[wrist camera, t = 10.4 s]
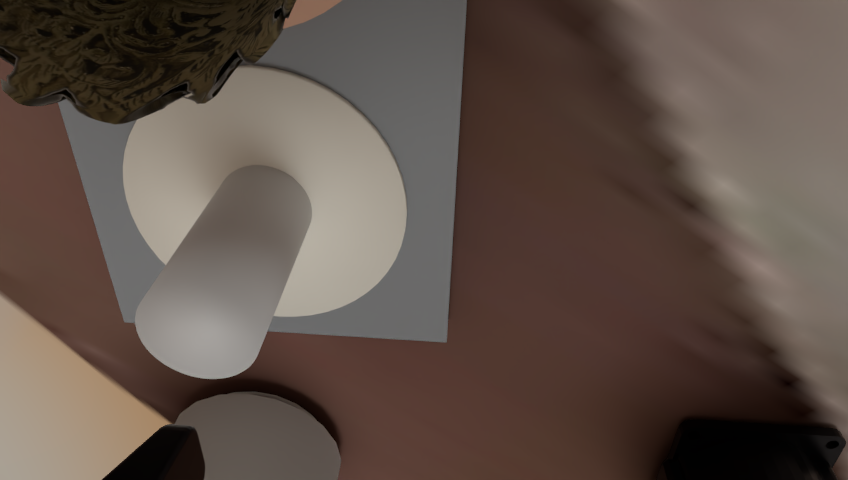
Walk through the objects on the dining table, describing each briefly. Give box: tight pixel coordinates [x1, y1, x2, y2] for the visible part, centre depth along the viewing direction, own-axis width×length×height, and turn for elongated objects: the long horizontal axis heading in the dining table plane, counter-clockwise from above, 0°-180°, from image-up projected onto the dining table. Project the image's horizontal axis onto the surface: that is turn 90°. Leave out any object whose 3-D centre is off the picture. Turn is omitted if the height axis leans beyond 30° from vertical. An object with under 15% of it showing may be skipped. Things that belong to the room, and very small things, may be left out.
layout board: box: [58, 0, 467, 379], centre depth 16 cm, size 12×21×8 cm, turn 179°
